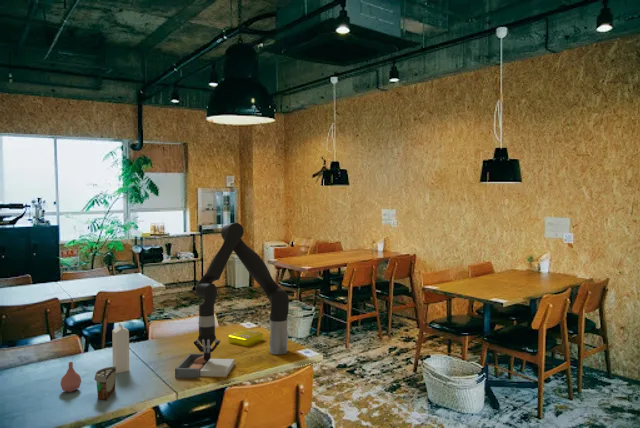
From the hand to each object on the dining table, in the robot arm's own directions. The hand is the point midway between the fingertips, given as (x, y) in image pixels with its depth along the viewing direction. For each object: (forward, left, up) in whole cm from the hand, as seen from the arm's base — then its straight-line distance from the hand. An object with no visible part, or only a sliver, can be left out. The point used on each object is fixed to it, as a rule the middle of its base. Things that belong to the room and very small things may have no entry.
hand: (207, 360), depth 226 cm
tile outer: (+3, +8, -3) cm, 9 cm away
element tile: (-10, -41, -4) cm, 42 cm away
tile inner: (+3, -1, -2) cm, 3 cm away
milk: (+39, +7, -3) cm, 40 cm away
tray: (+5, +4, -3) cm, 7 cm away
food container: (+33, +35, -3) cm, 48 cm away
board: (-6, +4, -3) cm, 8 cm away
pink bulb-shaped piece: (+49, +31, -3) cm, 58 cm away
